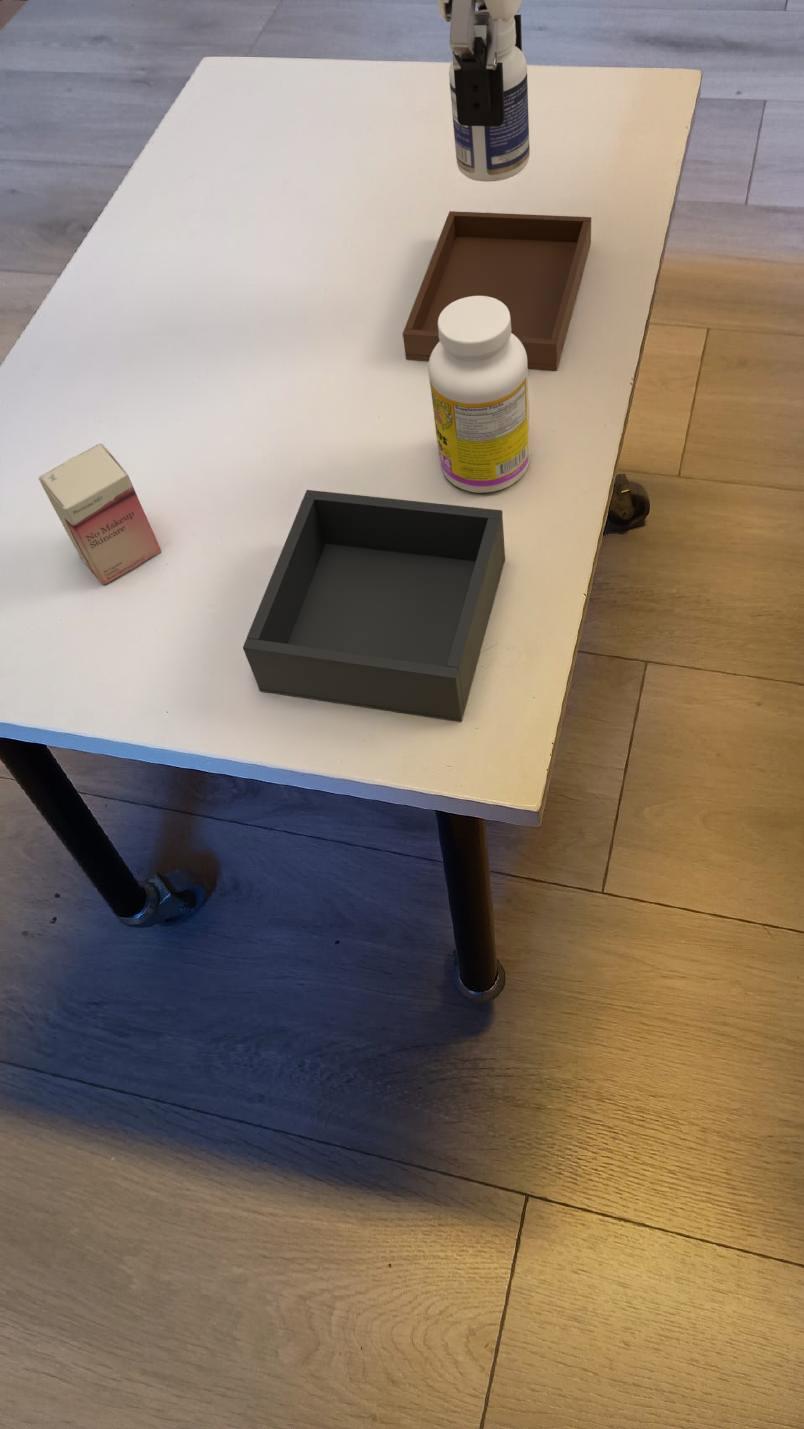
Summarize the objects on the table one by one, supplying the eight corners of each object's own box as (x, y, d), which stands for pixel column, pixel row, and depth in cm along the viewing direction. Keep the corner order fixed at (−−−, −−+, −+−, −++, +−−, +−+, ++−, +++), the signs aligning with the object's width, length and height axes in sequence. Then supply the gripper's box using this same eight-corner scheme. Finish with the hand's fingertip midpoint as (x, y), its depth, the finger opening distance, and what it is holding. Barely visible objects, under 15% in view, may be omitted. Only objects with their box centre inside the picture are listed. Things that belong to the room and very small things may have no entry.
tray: (451, 237, 97) (449, 210, 95) (590, 243, 95) (591, 216, 92) (405, 359, 89) (402, 333, 87) (556, 370, 86) (556, 344, 84)
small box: (103, 587, 79) (62, 510, 73) (77, 554, 82) (35, 476, 75) (164, 552, 81) (129, 472, 74) (136, 519, 83) (100, 439, 76)
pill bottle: (538, 145, 83) (535, 4, 75) (518, 187, 80) (513, 45, 72) (469, 140, 84) (459, 1, 76) (447, 181, 82) (434, 41, 73)
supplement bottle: (446, 432, 84) (429, 285, 73) (533, 432, 83) (530, 283, 72) (435, 497, 80) (416, 352, 70) (526, 498, 79) (521, 351, 69)
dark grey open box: (319, 537, 80) (306, 489, 76) (505, 558, 77) (502, 509, 73) (259, 691, 73) (242, 647, 69) (461, 722, 70) (455, 678, 66)
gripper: (508, -160, 58) (519, 171, 73) (566, -281, 67) (565, 37, 82) (371, -155, 60) (409, 167, 75) (444, -274, 68) (465, 36, 83)
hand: (490, 96), depth 78 cm, fingers closed on pill bottle, 5 cm apart
